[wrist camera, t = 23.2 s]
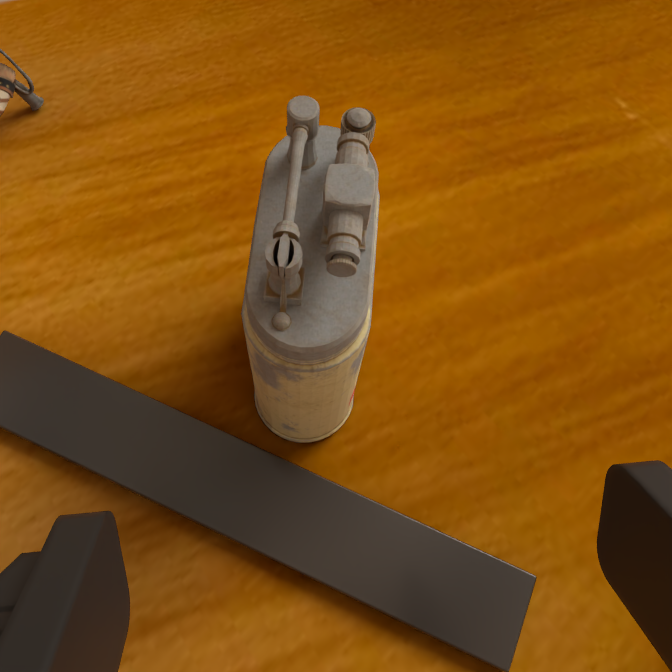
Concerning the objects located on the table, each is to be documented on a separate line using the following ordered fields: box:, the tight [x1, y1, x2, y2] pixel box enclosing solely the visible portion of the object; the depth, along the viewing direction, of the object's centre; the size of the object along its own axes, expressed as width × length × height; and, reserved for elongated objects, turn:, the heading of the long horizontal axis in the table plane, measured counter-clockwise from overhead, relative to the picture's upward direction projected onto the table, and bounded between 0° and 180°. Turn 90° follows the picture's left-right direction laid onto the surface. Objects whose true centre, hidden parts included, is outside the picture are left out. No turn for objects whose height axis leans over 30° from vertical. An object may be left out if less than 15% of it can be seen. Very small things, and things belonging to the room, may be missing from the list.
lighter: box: [241, 96, 380, 443], centre depth 19 cm, size 7×4×10 cm, turn 175°
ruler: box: [0, 331, 536, 672], centre depth 21 cm, size 20×3×1 cm, turn 66°
